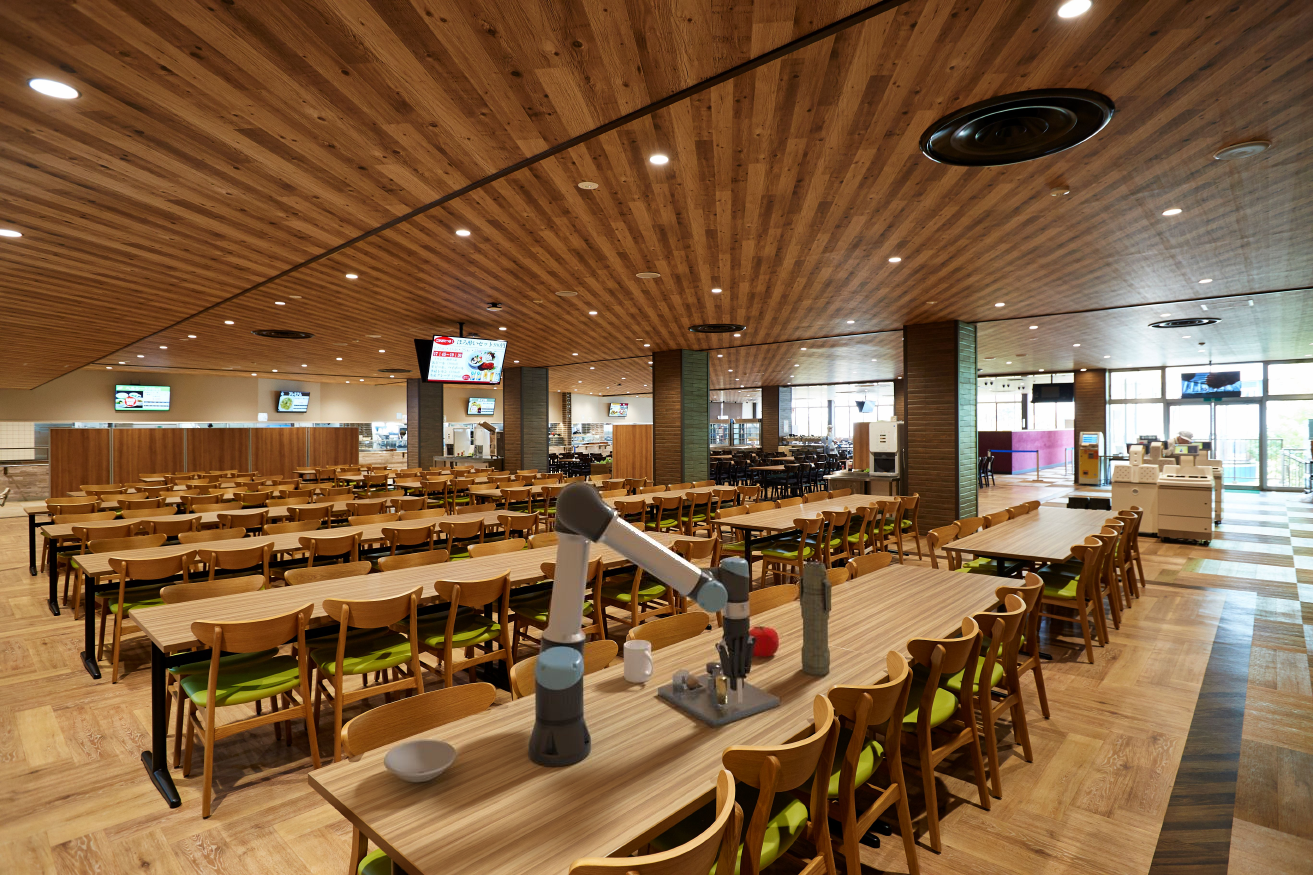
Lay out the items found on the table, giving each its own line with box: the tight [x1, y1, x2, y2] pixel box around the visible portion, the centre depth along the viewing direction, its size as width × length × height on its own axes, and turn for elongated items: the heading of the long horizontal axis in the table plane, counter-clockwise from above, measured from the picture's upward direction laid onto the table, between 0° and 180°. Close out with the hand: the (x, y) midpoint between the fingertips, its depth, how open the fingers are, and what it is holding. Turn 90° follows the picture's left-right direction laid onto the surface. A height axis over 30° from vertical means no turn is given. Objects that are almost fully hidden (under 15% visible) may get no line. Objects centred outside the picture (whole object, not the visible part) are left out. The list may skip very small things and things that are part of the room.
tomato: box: [749, 625, 780, 658], centre depth 216 cm, size 11×13×10 cm
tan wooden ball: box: [686, 674, 699, 689], centre depth 182 cm, size 4×4×4 cm
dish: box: [383, 738, 457, 783], centre depth 139 cm, size 18×14×5 cm
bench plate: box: [657, 668, 781, 729], centre depth 179 cm, size 24×26×6 cm
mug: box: [623, 639, 654, 684], centre depth 195 cm, size 9×12×11 cm
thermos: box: [798, 561, 832, 677], centre depth 200 cm, size 9×12×35 cm
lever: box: [705, 661, 727, 705], centre depth 178 cm, size 5×19×7 cm, turn 2°
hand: (737, 700), depth 170 cm, fingers closed
